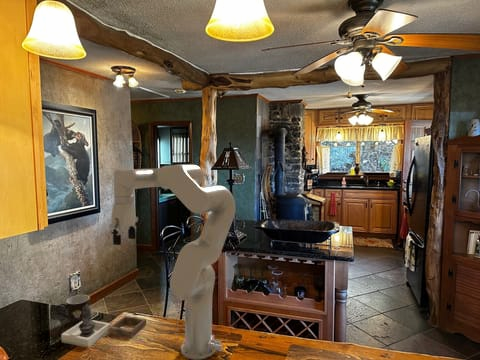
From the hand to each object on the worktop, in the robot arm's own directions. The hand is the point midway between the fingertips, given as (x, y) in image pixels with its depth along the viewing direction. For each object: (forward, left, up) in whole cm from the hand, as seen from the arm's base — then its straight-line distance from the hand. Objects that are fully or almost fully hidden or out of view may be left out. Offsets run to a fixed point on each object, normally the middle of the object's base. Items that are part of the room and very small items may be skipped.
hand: (124, 241), depth 132 cm
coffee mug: (+20, +6, -34) cm, 40 cm away
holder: (-4, +4, -34) cm, 35 cm away
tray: (+8, +13, -34) cm, 38 cm away
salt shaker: (+8, +13, -34) cm, 37 cm away
